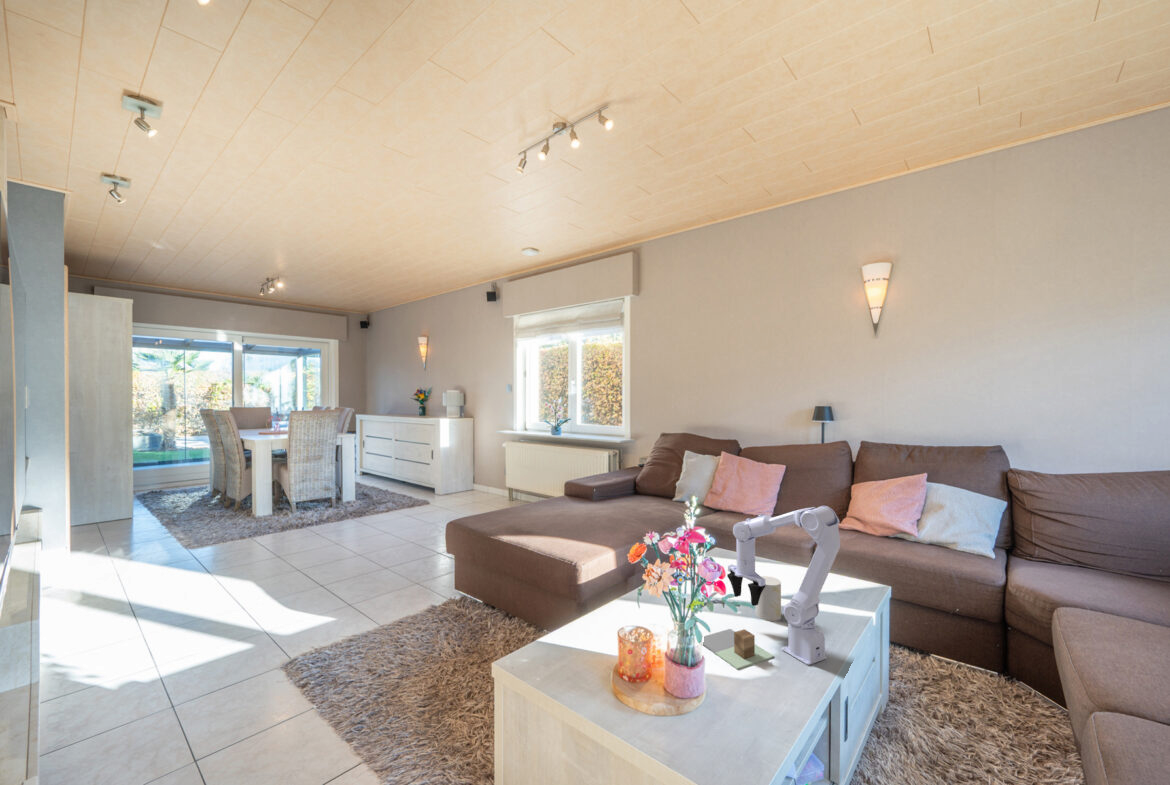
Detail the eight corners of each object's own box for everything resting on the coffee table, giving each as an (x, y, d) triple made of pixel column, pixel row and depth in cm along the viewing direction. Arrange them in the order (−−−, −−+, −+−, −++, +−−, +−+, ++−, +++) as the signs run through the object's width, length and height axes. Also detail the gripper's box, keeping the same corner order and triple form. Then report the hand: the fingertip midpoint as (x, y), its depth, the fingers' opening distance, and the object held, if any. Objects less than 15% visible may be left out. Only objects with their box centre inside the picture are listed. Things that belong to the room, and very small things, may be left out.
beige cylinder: (777, 623, 160) (776, 587, 160) (752, 616, 165) (752, 581, 165) (783, 614, 166) (783, 579, 166) (760, 608, 171) (759, 574, 171)
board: (774, 657, 139) (774, 655, 139) (737, 669, 133) (737, 668, 133) (730, 630, 156) (730, 628, 156) (695, 639, 149) (695, 638, 149)
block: (754, 656, 139) (754, 635, 139) (744, 659, 138) (743, 638, 138) (744, 649, 143) (744, 629, 143) (734, 652, 141) (734, 632, 141)
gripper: (720, 553, 161) (721, 594, 161) (753, 567, 148) (753, 611, 148) (736, 550, 164) (737, 590, 164) (770, 563, 151) (770, 607, 151)
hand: (746, 600), depth 156 cm, fingers open, 7 cm apart
